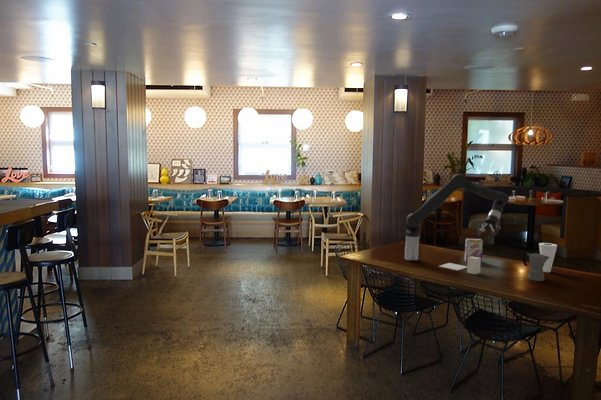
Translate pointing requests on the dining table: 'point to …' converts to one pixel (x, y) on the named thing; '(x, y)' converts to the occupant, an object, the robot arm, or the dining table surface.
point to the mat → (453, 266)
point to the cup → (548, 254)
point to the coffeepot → (535, 265)
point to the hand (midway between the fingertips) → (484, 236)
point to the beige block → (473, 265)
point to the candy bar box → (473, 248)
